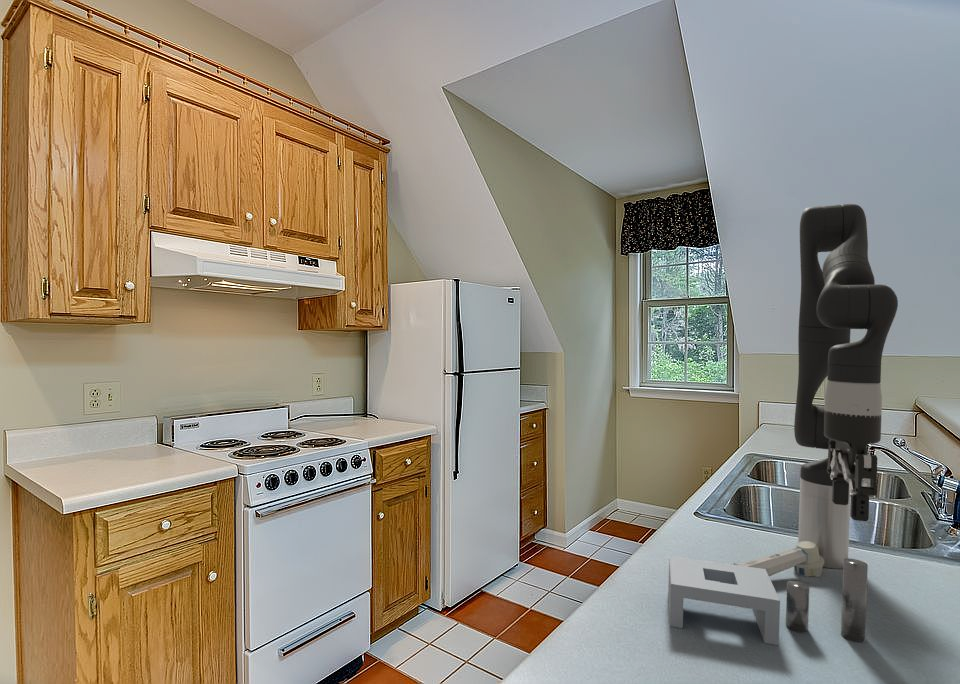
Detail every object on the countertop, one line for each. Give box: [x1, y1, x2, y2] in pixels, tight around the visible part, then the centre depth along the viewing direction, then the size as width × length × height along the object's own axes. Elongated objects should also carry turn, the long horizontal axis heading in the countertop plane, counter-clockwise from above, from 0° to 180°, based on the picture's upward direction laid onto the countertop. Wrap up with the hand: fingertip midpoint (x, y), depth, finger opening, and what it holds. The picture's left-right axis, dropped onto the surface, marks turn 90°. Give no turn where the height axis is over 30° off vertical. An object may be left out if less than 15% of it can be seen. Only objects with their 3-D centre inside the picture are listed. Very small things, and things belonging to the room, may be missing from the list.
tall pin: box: [840, 557, 869, 643], centre depth 88 cm, size 3×3×12 cm
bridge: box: [667, 555, 781, 646], centre depth 93 cm, size 12×16×7 cm
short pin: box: [785, 580, 810, 634], centre depth 90 cm, size 3×3×7 cm
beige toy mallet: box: [721, 541, 824, 584], centre depth 108 cm, size 5×7×25 cm
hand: (849, 511), depth 87 cm, fingers open, 8 cm apart
